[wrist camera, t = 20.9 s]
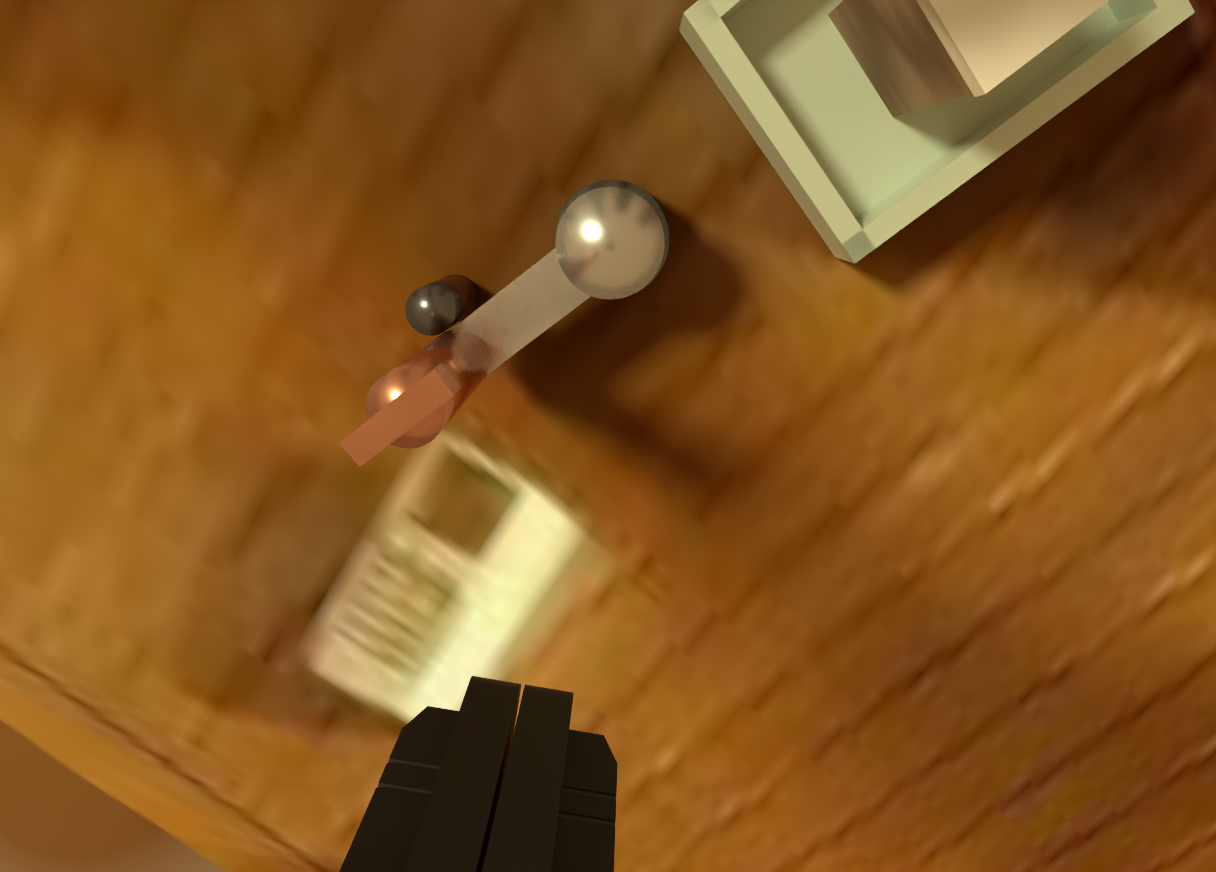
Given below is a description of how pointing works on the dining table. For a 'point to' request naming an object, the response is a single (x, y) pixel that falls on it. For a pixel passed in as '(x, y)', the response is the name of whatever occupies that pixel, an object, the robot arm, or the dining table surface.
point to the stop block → (949, 43)
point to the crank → (514, 318)
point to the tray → (861, 123)
